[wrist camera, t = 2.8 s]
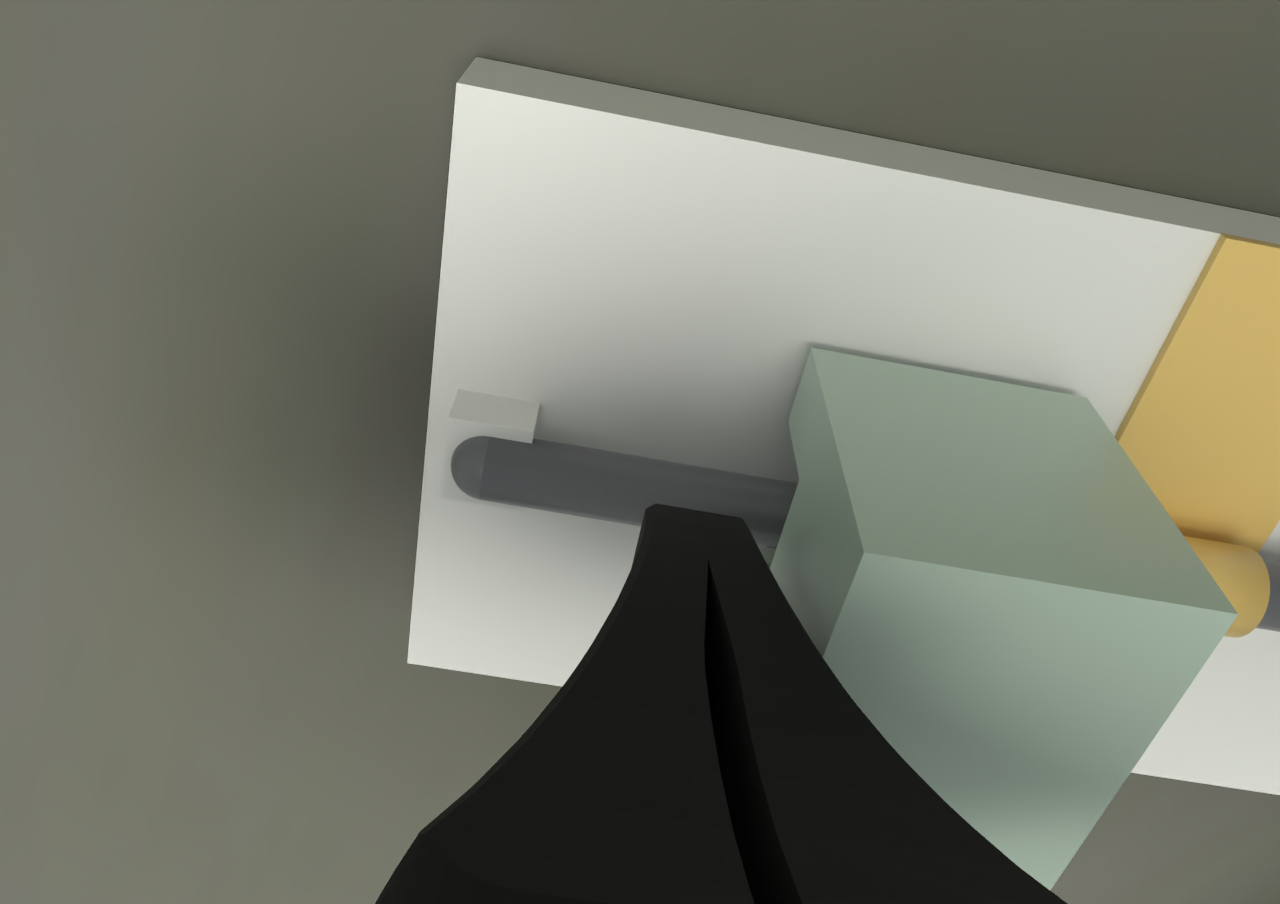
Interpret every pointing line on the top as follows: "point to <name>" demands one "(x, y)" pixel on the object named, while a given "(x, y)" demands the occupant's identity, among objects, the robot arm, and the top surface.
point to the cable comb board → (779, 348)
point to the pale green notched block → (991, 591)
